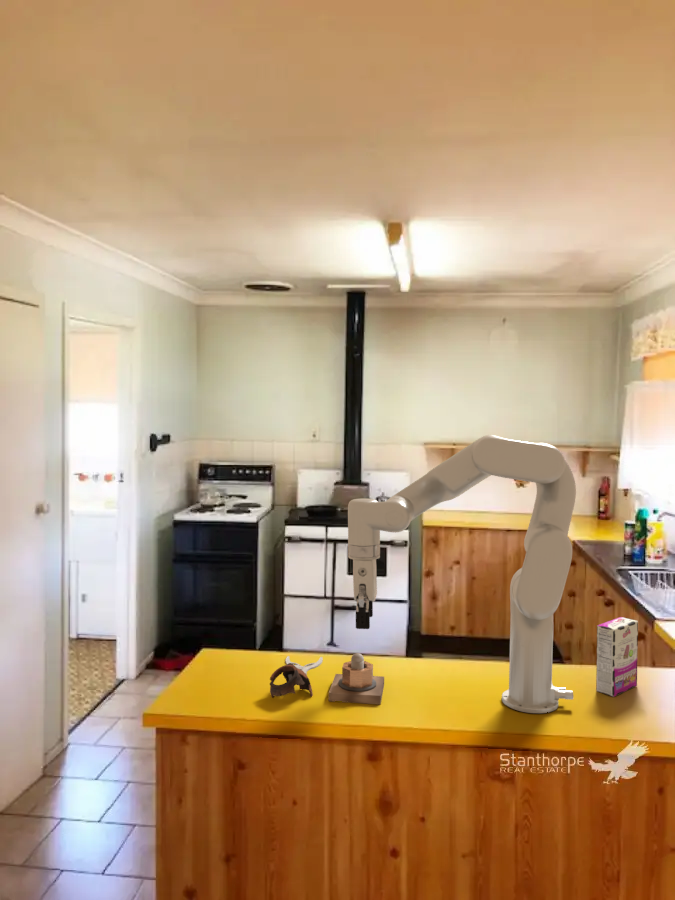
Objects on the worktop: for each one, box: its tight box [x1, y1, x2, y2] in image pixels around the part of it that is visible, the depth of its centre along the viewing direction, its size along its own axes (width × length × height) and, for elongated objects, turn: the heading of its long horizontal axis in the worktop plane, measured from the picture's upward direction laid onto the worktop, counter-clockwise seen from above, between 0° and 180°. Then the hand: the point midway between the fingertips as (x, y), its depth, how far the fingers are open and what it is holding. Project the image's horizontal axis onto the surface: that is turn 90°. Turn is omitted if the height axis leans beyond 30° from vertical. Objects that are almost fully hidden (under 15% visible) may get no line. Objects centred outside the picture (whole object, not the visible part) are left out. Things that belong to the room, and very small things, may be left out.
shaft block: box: [328, 652, 385, 705], centre depth 171 cm, size 12×12×10 cm
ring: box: [341, 660, 374, 688], centre depth 171 cm, size 7×7×4 cm
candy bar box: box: [595, 616, 639, 698], centre depth 175 cm, size 11×5×16 cm, turn 129°
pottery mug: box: [269, 663, 314, 698], centre depth 170 cm, size 12×10×8 cm
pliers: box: [285, 655, 323, 676], centre depth 188 cm, size 10×2×15 cm
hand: (364, 622), depth 171 cm, fingers open, 9 cm apart
